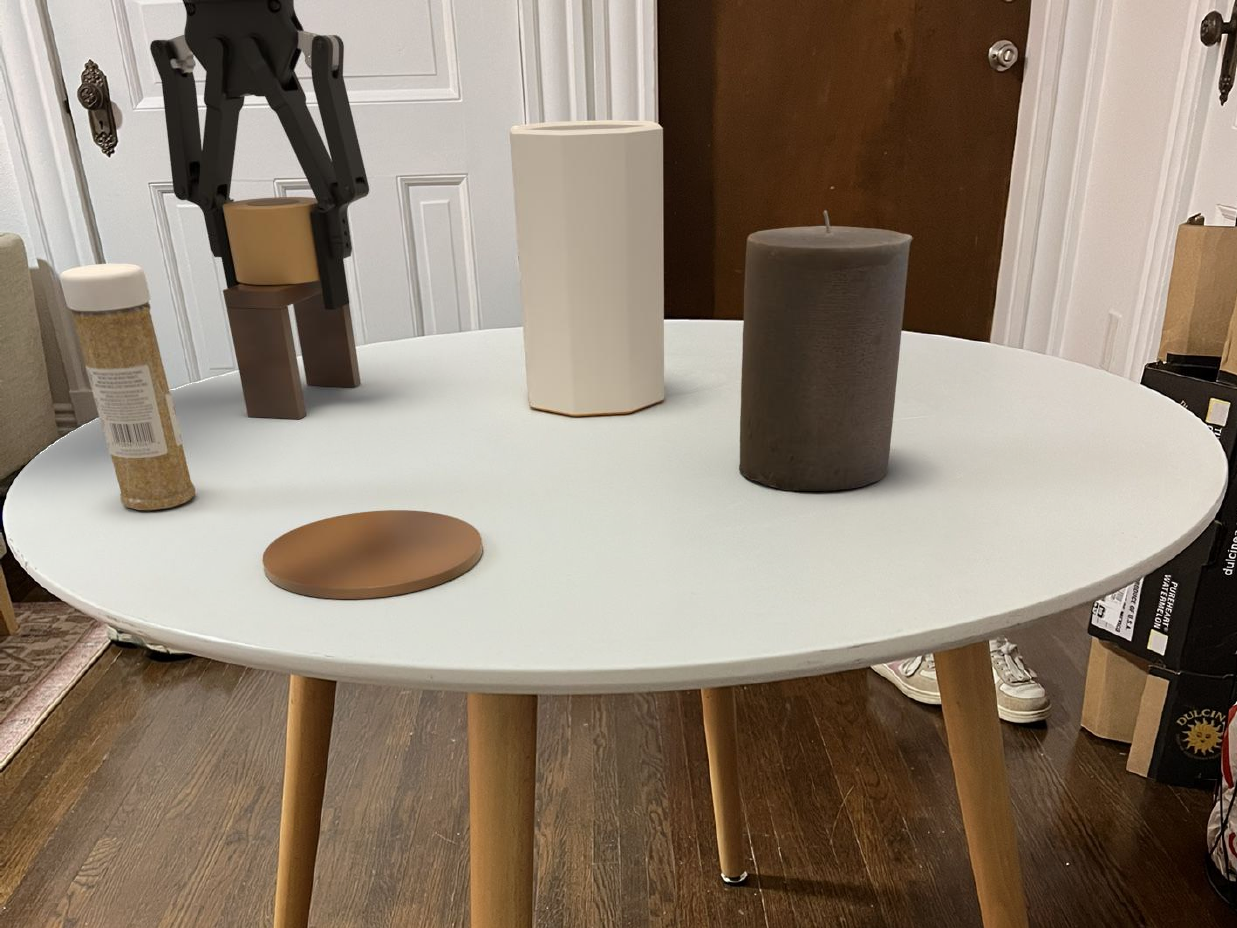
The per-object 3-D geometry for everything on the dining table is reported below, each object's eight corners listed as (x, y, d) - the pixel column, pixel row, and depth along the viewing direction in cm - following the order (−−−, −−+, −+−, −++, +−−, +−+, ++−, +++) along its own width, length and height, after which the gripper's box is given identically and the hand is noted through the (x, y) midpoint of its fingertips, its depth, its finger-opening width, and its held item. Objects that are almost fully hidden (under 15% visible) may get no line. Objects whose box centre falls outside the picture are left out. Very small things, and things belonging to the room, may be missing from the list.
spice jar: (209, 491, 76) (158, 261, 68) (172, 514, 72) (113, 274, 65) (146, 487, 77) (88, 260, 69) (105, 510, 73) (40, 273, 65)
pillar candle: (752, 496, 72) (762, 224, 64) (728, 450, 81) (734, 203, 72) (907, 489, 73) (937, 217, 65) (868, 444, 81) (890, 197, 73)
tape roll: (218, 284, 87) (203, 207, 85) (266, 268, 93) (253, 195, 90) (306, 286, 86) (294, 208, 83) (349, 270, 92) (339, 196, 89)
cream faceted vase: (501, 394, 95) (479, 125, 84) (622, 374, 99) (615, 117, 89) (564, 425, 87) (549, 133, 76) (692, 403, 91) (694, 124, 81)
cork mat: (222, 589, 62) (220, 578, 62) (325, 514, 72) (323, 504, 71) (434, 607, 60) (433, 596, 59) (511, 526, 69) (510, 516, 69)
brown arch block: (247, 416, 91) (222, 289, 86) (313, 382, 99) (293, 265, 94) (299, 419, 90) (277, 291, 85) (361, 384, 98) (344, 265, 93)
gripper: (390, -74, 78) (430, 298, 91) (126, -61, 83) (200, 293, 96) (340, -82, 72) (391, 318, 85) (58, -67, 77) (147, 311, 90)
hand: (290, 304), depth 91 cm, fingers closed on tape roll, 7 cm apart
